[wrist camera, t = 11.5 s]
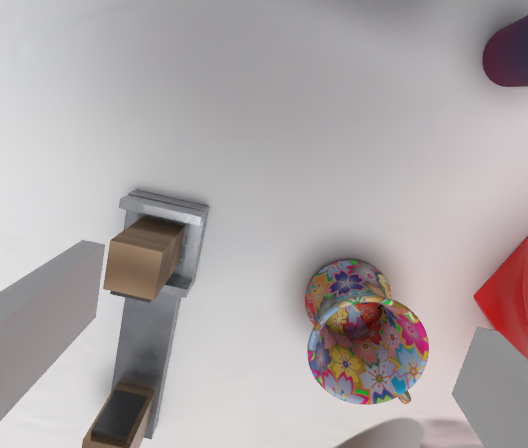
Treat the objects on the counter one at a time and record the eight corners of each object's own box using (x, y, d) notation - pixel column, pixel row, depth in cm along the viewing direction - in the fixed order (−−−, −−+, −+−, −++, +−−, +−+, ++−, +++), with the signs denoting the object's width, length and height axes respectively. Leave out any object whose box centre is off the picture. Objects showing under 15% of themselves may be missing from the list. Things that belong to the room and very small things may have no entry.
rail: (136, 189, 41) (91, 212, 31) (209, 206, 41) (187, 233, 31) (102, 414, 47) (57, 491, 38) (166, 428, 48) (137, 507, 38)
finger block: (143, 216, 40) (110, 240, 32) (185, 225, 40) (162, 252, 32) (135, 261, 41) (102, 295, 33) (176, 271, 41) (152, 307, 33)
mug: (282, 285, 43) (284, 339, 33) (360, 235, 41) (388, 274, 31) (347, 372, 45) (367, 448, 35) (423, 327, 44) (469, 392, 33)
